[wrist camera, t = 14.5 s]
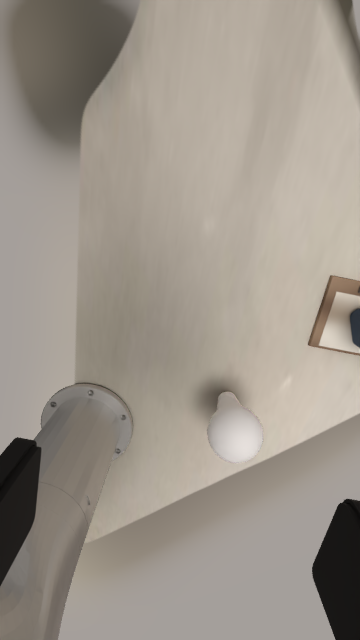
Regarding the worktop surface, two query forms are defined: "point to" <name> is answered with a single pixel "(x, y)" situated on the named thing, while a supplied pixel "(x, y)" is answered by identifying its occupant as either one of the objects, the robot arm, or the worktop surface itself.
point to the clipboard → (337, 316)
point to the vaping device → (355, 326)
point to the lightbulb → (234, 430)
